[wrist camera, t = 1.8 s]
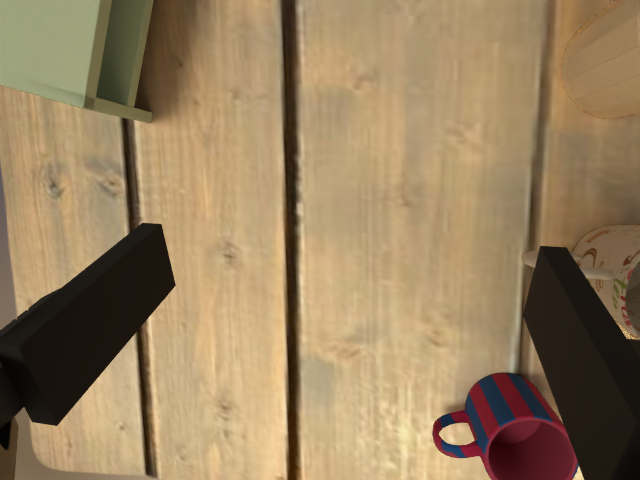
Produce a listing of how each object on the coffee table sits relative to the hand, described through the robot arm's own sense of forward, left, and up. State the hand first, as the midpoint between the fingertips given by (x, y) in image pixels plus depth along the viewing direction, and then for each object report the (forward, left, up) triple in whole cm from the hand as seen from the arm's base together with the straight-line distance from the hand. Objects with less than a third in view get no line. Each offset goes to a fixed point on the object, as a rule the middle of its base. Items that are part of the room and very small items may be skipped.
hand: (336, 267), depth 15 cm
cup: (+14, +16, -22) cm, 31 cm away
